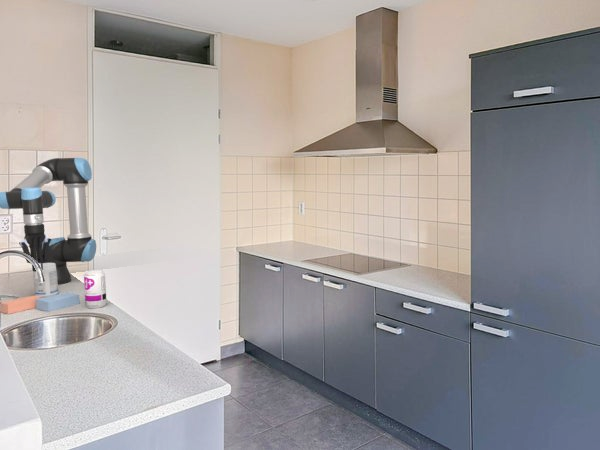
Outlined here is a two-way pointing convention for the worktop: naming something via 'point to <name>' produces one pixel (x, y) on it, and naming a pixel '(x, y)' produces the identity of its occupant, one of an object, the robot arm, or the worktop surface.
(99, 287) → the supplement can
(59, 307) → the blue rectangular block
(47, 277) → the supplement tub
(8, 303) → the orange rectangular block
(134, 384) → the worktop surface
